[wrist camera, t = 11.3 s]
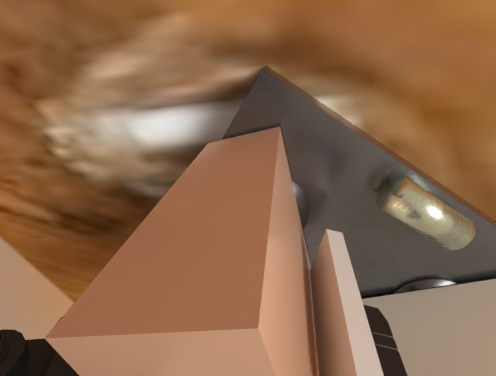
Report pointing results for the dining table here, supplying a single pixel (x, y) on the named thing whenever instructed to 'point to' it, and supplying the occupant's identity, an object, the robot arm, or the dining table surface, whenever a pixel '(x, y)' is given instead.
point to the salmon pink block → (205, 278)
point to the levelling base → (369, 197)
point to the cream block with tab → (444, 328)
